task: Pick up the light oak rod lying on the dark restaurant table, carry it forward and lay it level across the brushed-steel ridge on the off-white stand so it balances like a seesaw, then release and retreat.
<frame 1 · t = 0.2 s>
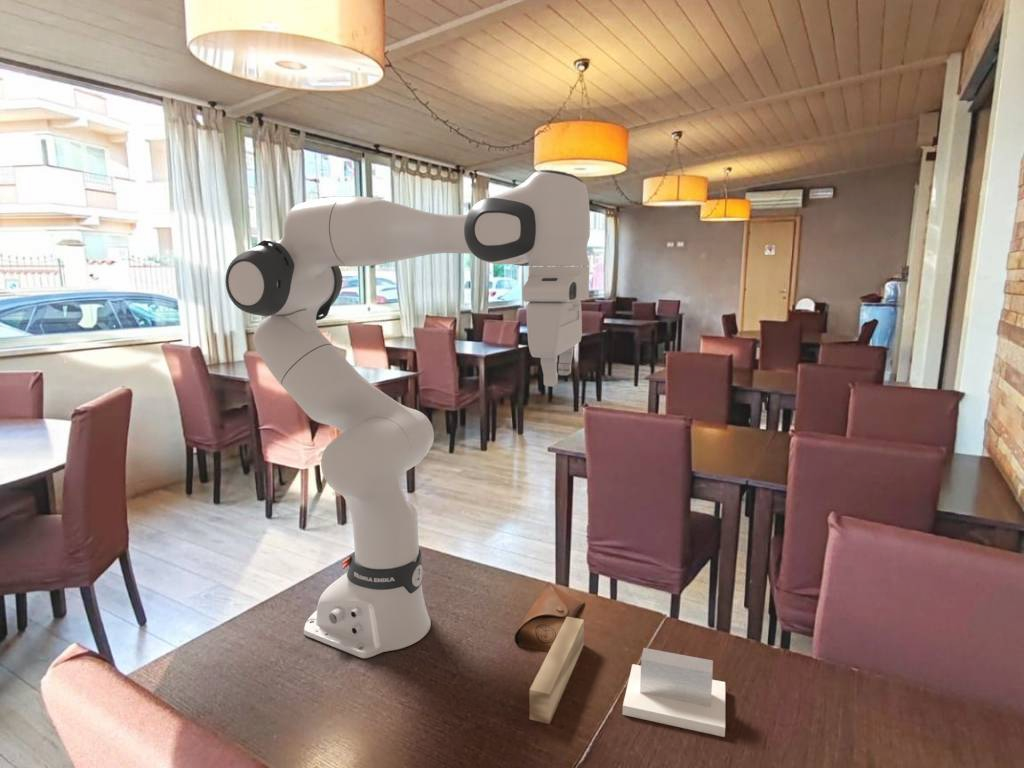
hand: (557, 379, 93), 47 cm above the table, fingers open, 8 cm apart
oak rod: (558, 680, 98), on the table
sunglasses case: (551, 625, 113), on the table
ridge stand: (674, 702, 92), on the table
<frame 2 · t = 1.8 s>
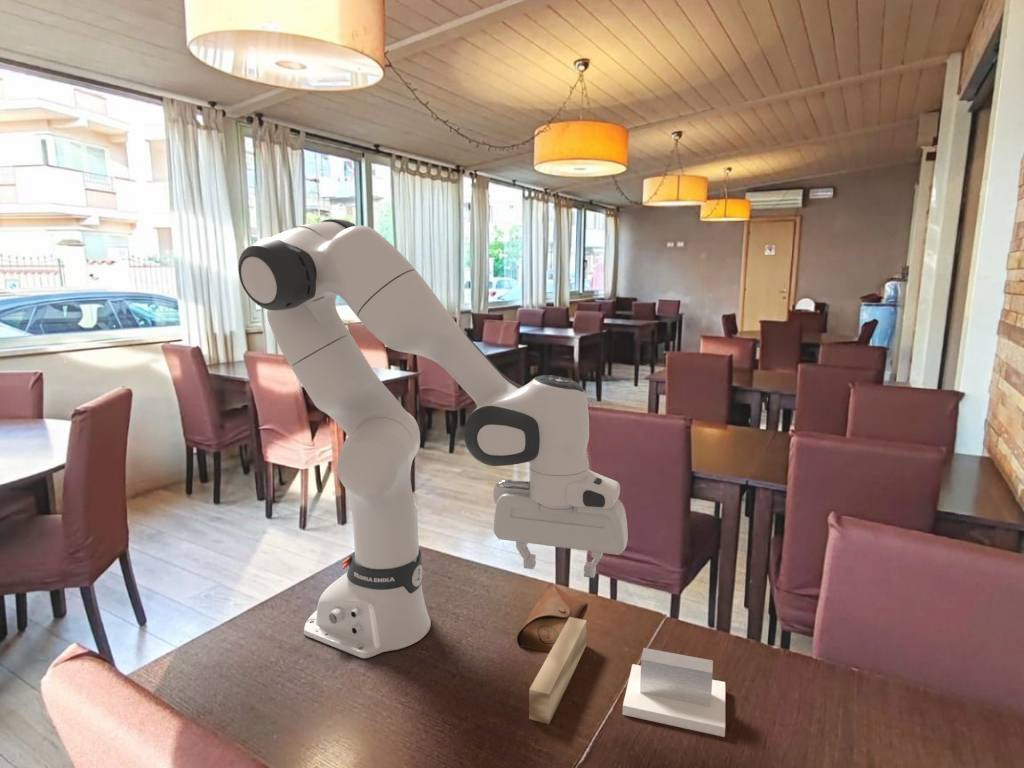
hand: (559, 571, 94), 18 cm above the table, fingers open, 8 cm apart
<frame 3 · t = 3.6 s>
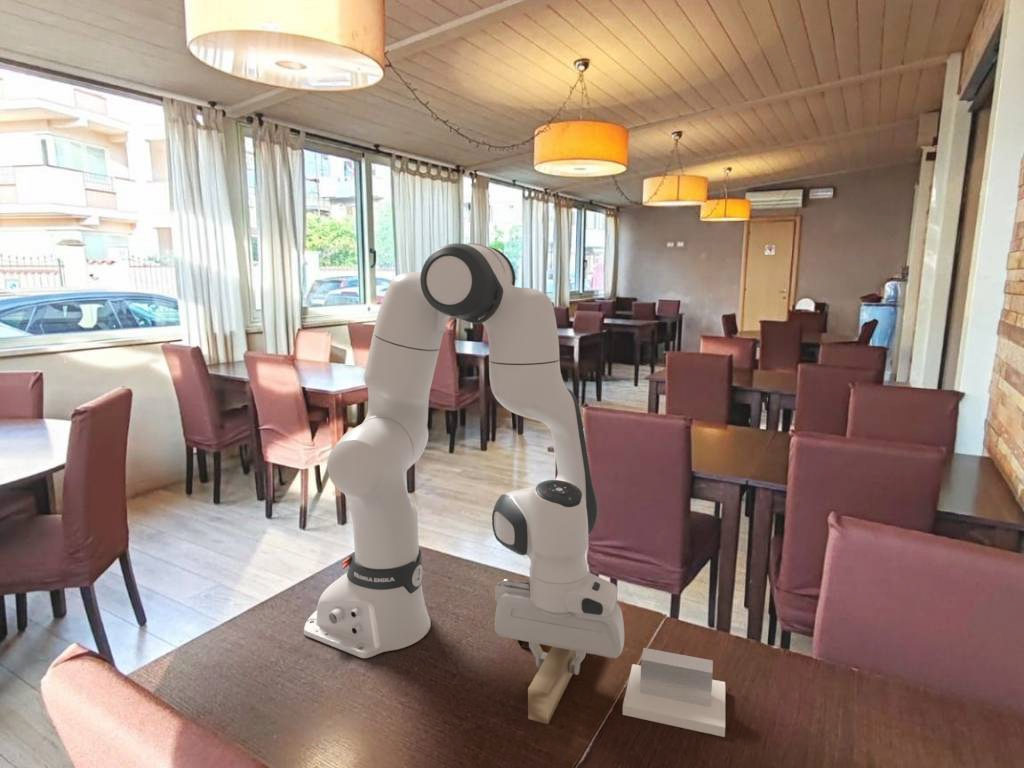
hand: (557, 668, 97), 2 cm above the table, fingers open, 4 cm apart
oak rod: (559, 679, 97), on the table, touching gripper
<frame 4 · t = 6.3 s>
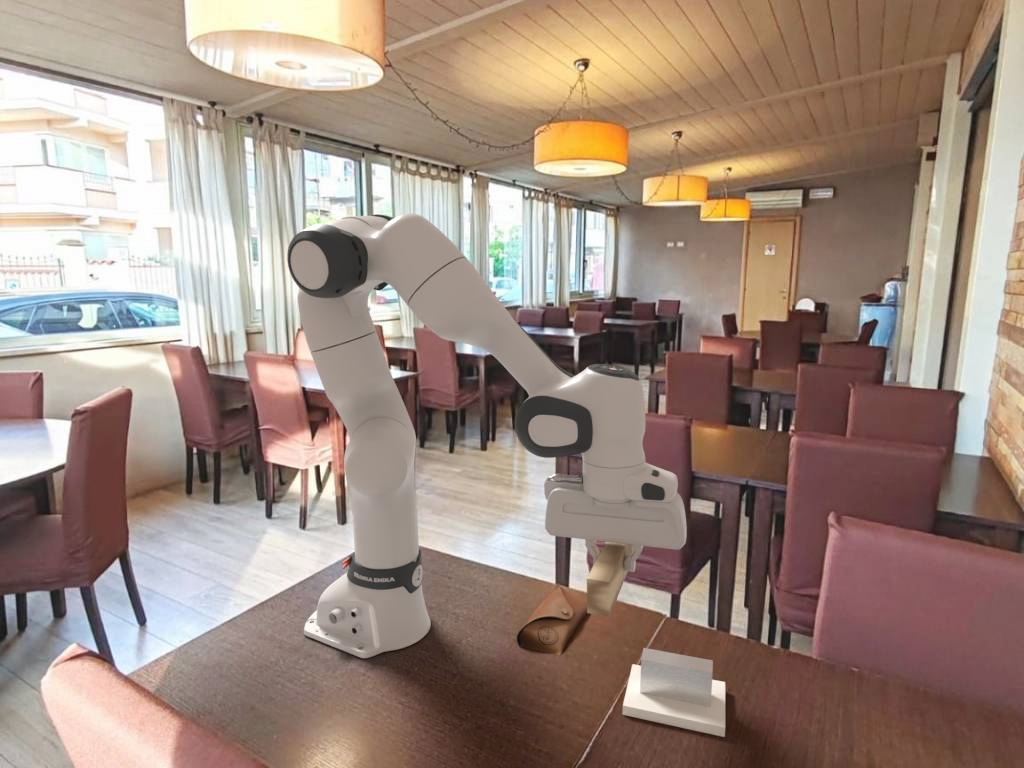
hand: (614, 567, 91), 20 cm above the table, fingers closed on oak rod, 3 cm apart
oak rod: (614, 578, 91), point 19 cm above the table, touching gripper
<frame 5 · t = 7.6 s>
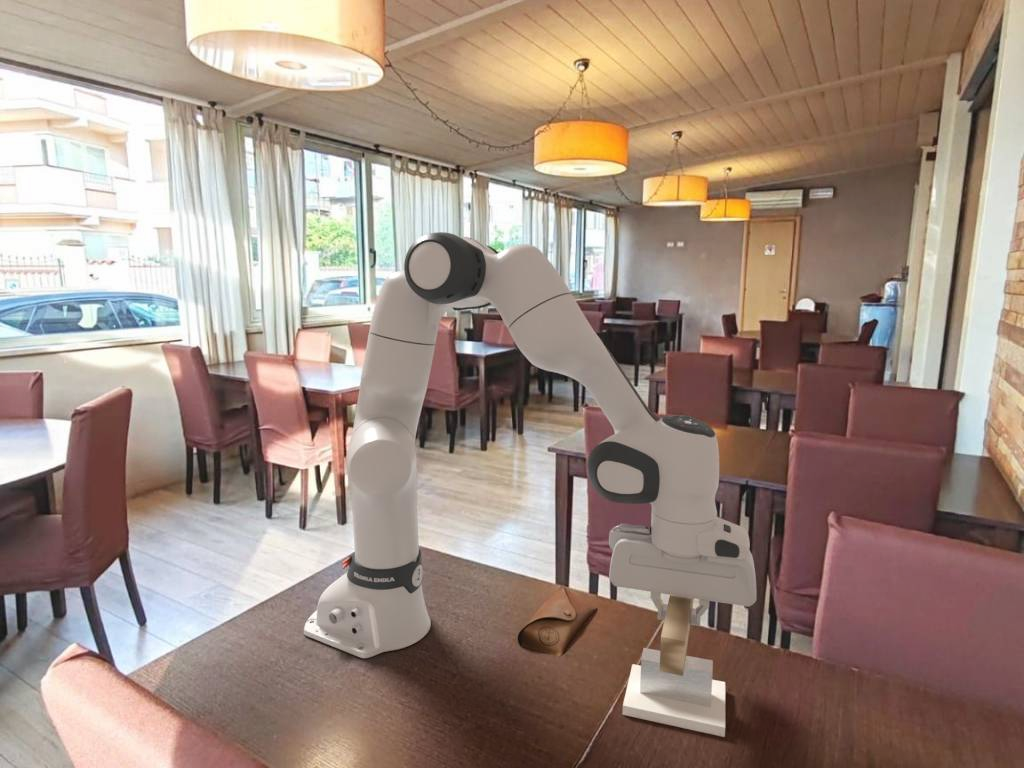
hand: (679, 620, 90), 13 cm above the table, fingers closed on oak rod, 3 cm apart
oak rod: (678, 631, 90), point 12 cm above the table, touching gripper
when the fingers open (10 cm above the table, at t = 8.6 s): oak rod stays where it is, resting on ridge stand.
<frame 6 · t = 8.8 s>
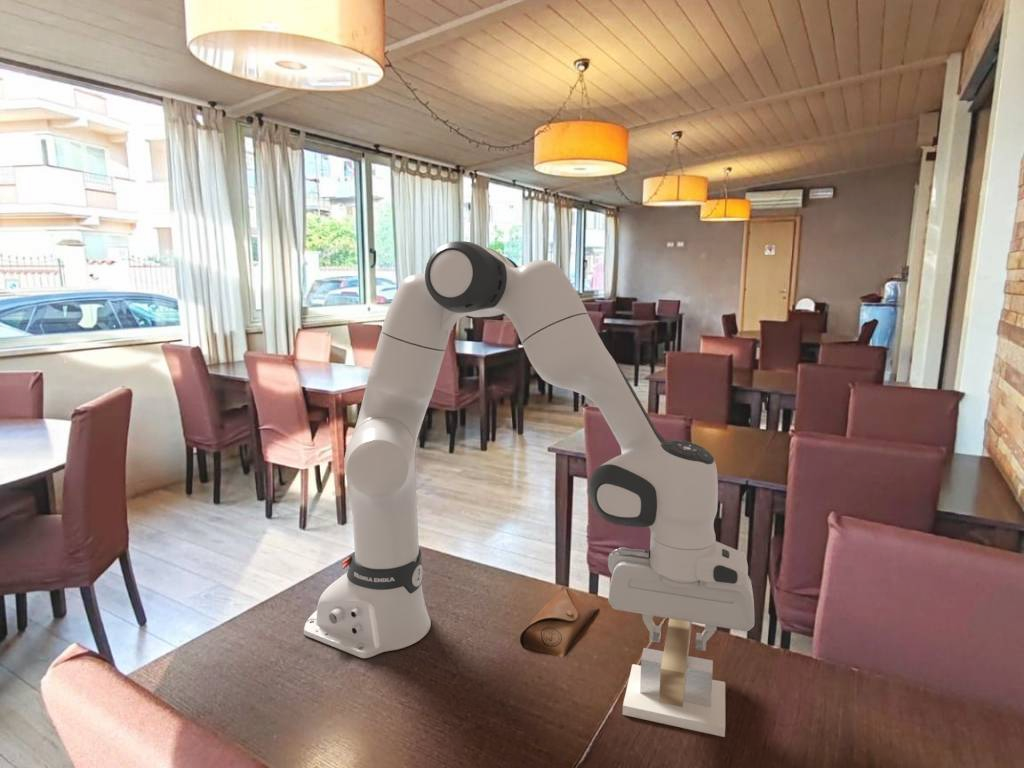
hand: (677, 643, 90), 10 cm above the table, fingers open, 5 cm apart
oak rod: (676, 659, 91), point 7 cm above the table, touching ridge stand
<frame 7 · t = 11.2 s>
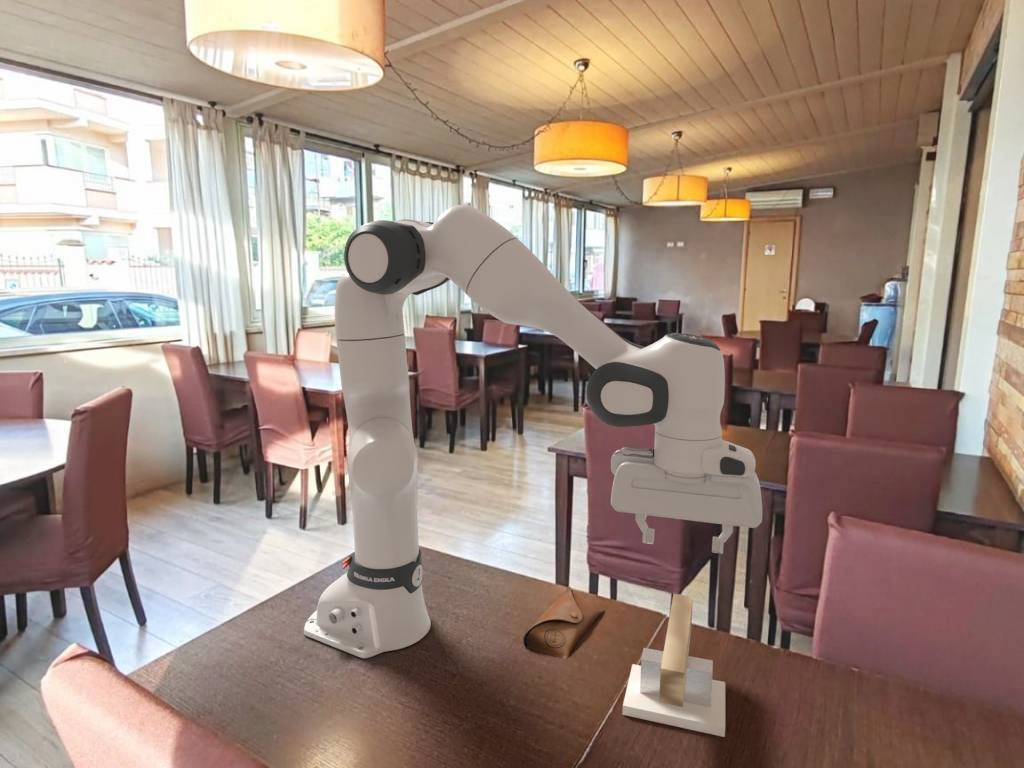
hand: (682, 546, 87), 25 cm above the table, fingers open, 8 cm apart
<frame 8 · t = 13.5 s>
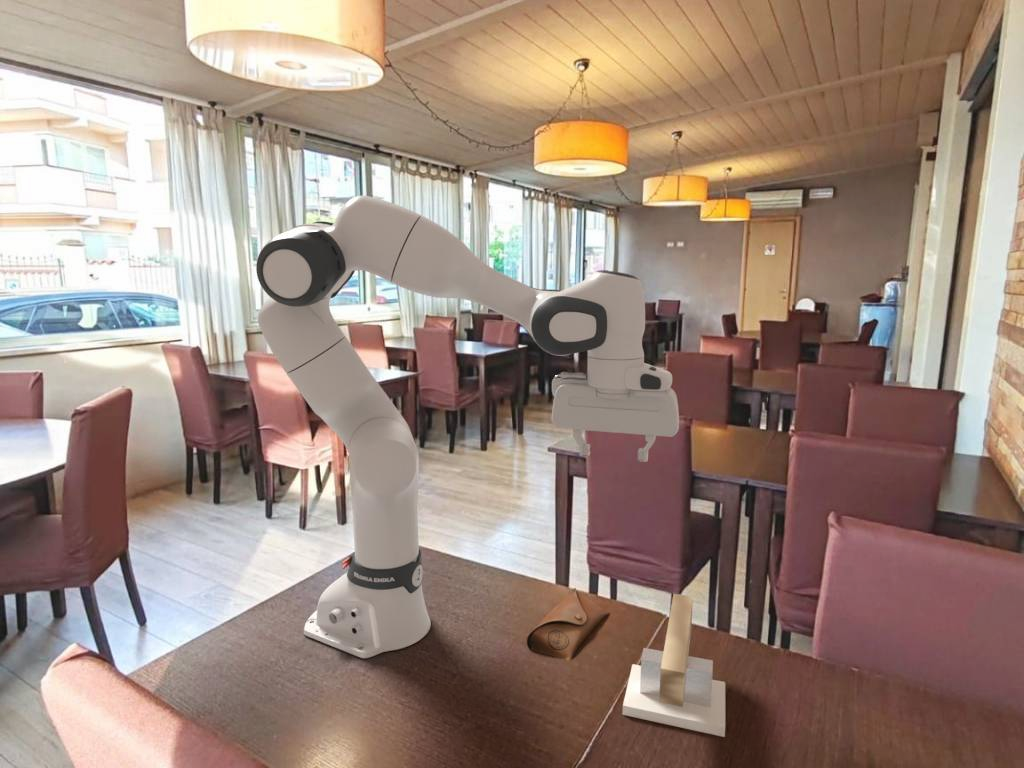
hand: (613, 457, 101), 33 cm above the table, fingers open, 8 cm apart
at the end: oak rod inside the target area on the ridge stand (0.0 cm from its centre), point 7.0 cm above the ridge stand's base; oak rod tilted 0°; oak rod touching ridge stand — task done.
